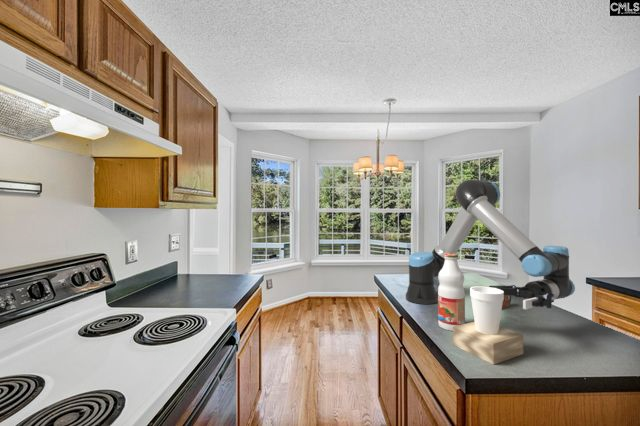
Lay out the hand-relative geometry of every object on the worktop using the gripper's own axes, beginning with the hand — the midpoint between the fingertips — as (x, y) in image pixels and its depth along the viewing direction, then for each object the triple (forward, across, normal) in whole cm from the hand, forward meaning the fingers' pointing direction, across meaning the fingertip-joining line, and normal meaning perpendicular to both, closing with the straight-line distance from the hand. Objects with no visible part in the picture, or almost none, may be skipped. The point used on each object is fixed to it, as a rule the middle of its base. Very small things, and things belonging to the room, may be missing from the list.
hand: (502, 299), depth 97 cm
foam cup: (+8, 0, -9) cm, 12 cm away
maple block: (+8, 0, -15) cm, 17 cm away
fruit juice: (+3, +18, -15) cm, 24 cm away
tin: (-34, +24, -15) cm, 44 cm away
